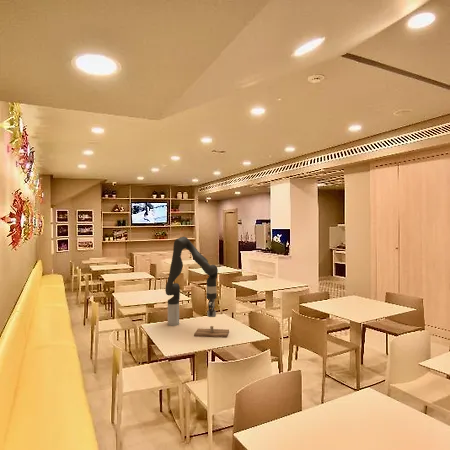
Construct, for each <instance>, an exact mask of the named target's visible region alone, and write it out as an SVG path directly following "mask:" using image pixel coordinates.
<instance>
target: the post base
mask: <svg viewBox="0 0 450 450" xmlns="http://www.w3.org/2000/svg"><path fill="white" fill-rule="evenodd" d="M229 333H230V329H223V328H222V329H220V328H219V329H218V328H214V326H213V325H211V326H210V328H197V329H196V331H195V332H194V334H193V336H194V337H201V338H203V337H204V338H225V339H227V338H228V336H229Z"/></svg>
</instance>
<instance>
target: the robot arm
mask: <svg viewBox="0 0 450 450" xmlns="http://www.w3.org/2000/svg"><path fill="white" fill-rule="evenodd" d="M172 250H173V251H172V258H171V264H170V267H169V268H170V269H169V275H168V279H167V282H166V285H165V289H164V290H165V295H167V296H172V297H171V298H169V299H168V300H167V326H168V327H169V326H170V327H176V326H179V325H180V299H181V298H180V296H181V295H180V293H181V288H180V286H181V285H180V284H179V283H178V282H177V283H176V282H175V280H176V279H177V278H178V277H179V276H180V275H181V273H182V271H183V266H184V263H183V260H182V252H183V250H187V251H189V253H190V254H191V257H192V259H193V261H195V263H197V264H198V266H200V268H201V269H202V270H203V272H204V273H205V275H208V277H207V279H206V292H205V293H206V299H207V300H209V301H208V303H207V305H208V307H207V308H208V309H207V311H208V310H209V316H212V311H213V310H215V305H216V304H215V302H216V299H217V297H218V296H217V295H218V292H217V291H218V290H217V277H218V273H219V272H218V267H217V266H216V264H210V263H209V260H208V259H207V258H206V257H205V256H204V255H203V254H202V253H200V251H198V250H199V249H197V248H196V247H195V246H194V244H193V243H192V242H191V241H190V239H188V237H186V236H181V237H179V238H178V237H177V238H176V239H175V240H174V241H173V249H172Z"/></svg>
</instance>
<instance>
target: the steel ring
mask: <svg viewBox="0 0 450 450" xmlns="http://www.w3.org/2000/svg"><path fill="white" fill-rule="evenodd" d="M206 314H207V315H206V316H207V318H215V317H217V310H216V309H214V310H213V311H212V316H209V310H208V309H207V312H206Z"/></svg>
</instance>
